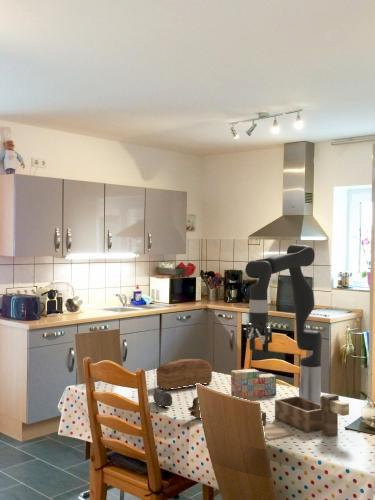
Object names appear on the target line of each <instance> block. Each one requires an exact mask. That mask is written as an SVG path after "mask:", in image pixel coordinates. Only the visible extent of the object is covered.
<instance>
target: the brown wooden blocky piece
mask: <svg viewBox="0 0 375 500" xmlns="http://www.w3.org/2000/svg"><path fill="white" fill-rule="evenodd" d="M329 399H336V400H339V395H338V394H334V393H330V394H324V395H321V408H320V404H318V403H315V402H312V401H309V400H306V399H304V398H301V397H299V395H298V396H297V395H296V396H292V397H285V398H279V399H274V420H275V421H278V422H281V423H282V424H285V425H287V426H290V427H292V428H295V429H297V430H300V431H302V432H303V433H306V434H309V433H313V432H318V431H322V432H321V435H322V436H324V437H326V438H330V437H335V436H338V435H339V434H338V431H339V429H338V428H339V424H338V422H339V421H338V418H339V417H338V415H339V414H336V413H334V412H331V411H329ZM339 401H340V400H339Z"/></svg>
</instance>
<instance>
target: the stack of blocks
mask: <svg viewBox="0 0 375 500" xmlns="http://www.w3.org/2000/svg"><path fill="white" fill-rule="evenodd" d="M230 392H231V393H230V395H231V397H233V396H236V397H240V398H239V399H245V398H246V399H248V398H254V397H253V396H258V397H263V396H262V395H269V396H273V395H272V394H276V395H277V375H275V374H273V373H260V371H259V370H257V369H255V368H250V369H249V368H248V369H247V368H246V369H237V370H235V369H234V370H231V371H230Z"/></svg>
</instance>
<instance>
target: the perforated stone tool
mask: <svg viewBox="0 0 375 500" xmlns="http://www.w3.org/2000/svg"><path fill="white" fill-rule="evenodd" d="M152 397H153V401H154V402H156V405H158V404H159V405H161V406H160V407H162V406H170V407H171V406H172V404H173V397H172V395H171V394H170V393H169V391H167V390H164V389H157V390H155V391H154V392H153V396H152ZM159 405H158V406H159Z"/></svg>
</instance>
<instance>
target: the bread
mask: <svg viewBox="0 0 375 500" xmlns="http://www.w3.org/2000/svg"><path fill="white" fill-rule="evenodd" d="M212 371H213V367H212V366H211V364H210V363H209V362H208V361H206V360H204V359H201V358H180V359H177V360H172V361H168V362H164V363H163V364H161V365H159V366H158V367H157V368H156V371H155V372H156V386H157V387H158V386H159V388H160V387H162V388H164V389H163V390H165V389H171V388H178V387H183V386H189V385H195V384H196V383H200V384H204V383H209V384H211V383H210V382H212V379H213V375H212V374H213V373H212ZM162 388H161V389H162Z"/></svg>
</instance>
